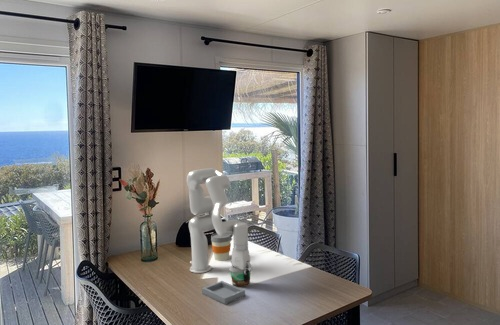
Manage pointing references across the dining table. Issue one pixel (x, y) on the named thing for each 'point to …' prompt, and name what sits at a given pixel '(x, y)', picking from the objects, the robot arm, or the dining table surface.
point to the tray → (223, 292)
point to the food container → (238, 277)
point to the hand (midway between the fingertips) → (241, 278)
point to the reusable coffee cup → (221, 247)
